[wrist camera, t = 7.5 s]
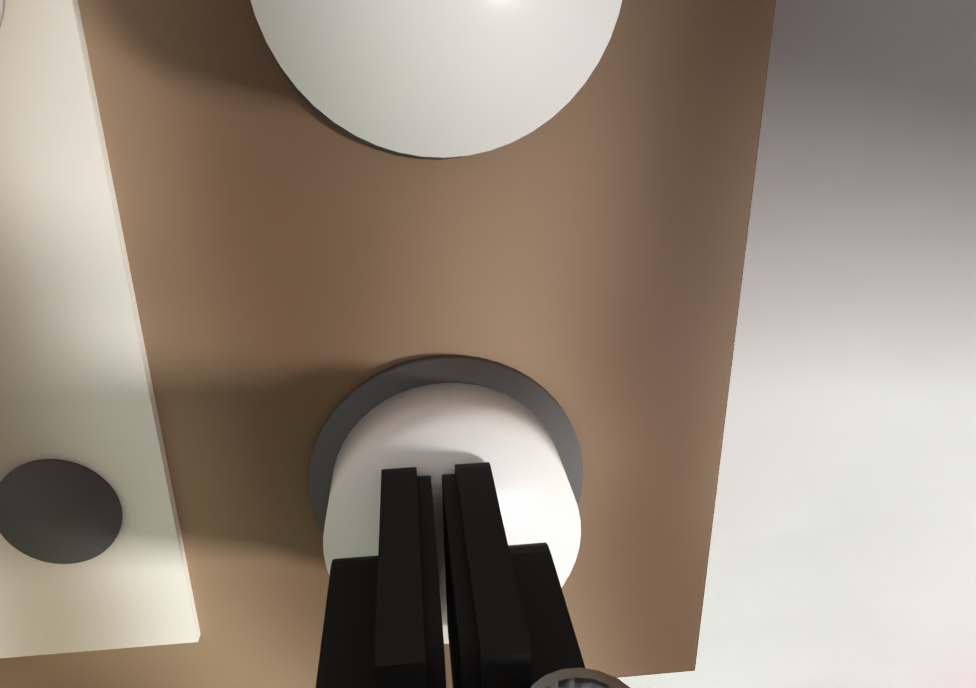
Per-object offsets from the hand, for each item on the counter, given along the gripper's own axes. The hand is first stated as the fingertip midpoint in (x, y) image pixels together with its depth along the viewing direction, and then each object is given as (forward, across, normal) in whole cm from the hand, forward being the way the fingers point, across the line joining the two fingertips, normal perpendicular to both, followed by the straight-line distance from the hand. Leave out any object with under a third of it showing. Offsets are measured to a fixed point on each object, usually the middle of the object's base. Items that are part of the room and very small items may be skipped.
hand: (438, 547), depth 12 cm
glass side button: (+2, 0, 0) cm, 2 cm away
